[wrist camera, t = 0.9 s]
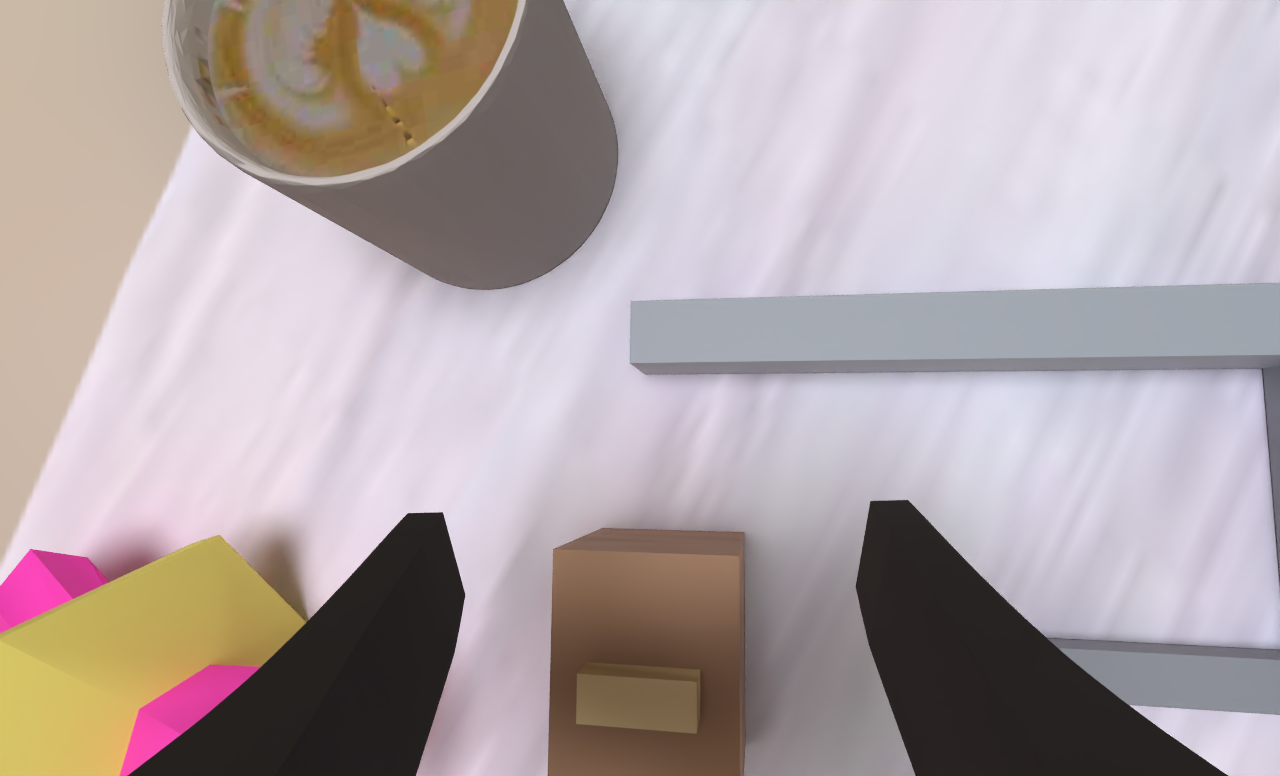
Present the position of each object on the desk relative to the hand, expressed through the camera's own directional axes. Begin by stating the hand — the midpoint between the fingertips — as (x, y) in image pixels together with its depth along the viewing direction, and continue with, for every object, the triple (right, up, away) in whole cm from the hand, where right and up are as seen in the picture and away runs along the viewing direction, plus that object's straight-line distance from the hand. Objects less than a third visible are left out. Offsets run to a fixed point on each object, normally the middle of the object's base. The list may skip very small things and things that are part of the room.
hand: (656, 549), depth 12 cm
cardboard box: (+1, -6, +12) cm, 13 cm away
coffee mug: (-6, +13, +15) cm, 21 cm away
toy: (-15, -8, +15) cm, 23 cm away
